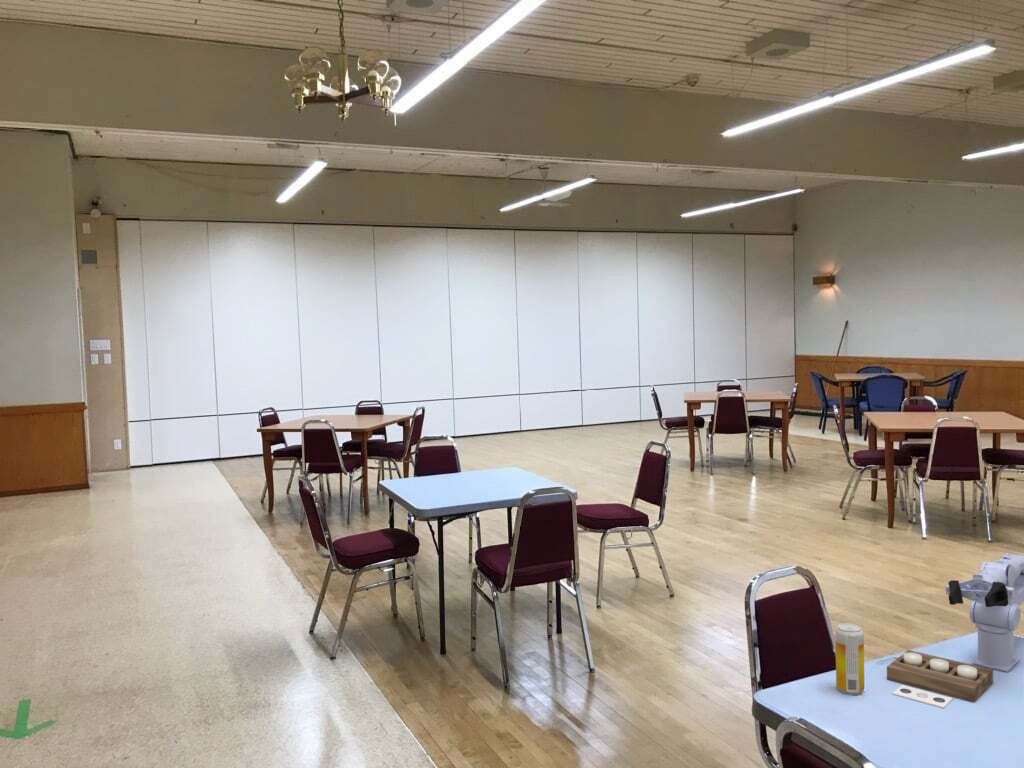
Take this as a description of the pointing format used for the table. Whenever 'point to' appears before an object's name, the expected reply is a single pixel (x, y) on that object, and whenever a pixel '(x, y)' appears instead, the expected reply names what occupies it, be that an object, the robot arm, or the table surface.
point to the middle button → (939, 665)
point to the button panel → (940, 678)
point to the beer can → (849, 658)
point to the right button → (967, 672)
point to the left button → (913, 659)
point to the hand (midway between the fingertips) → (968, 601)
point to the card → (922, 696)
